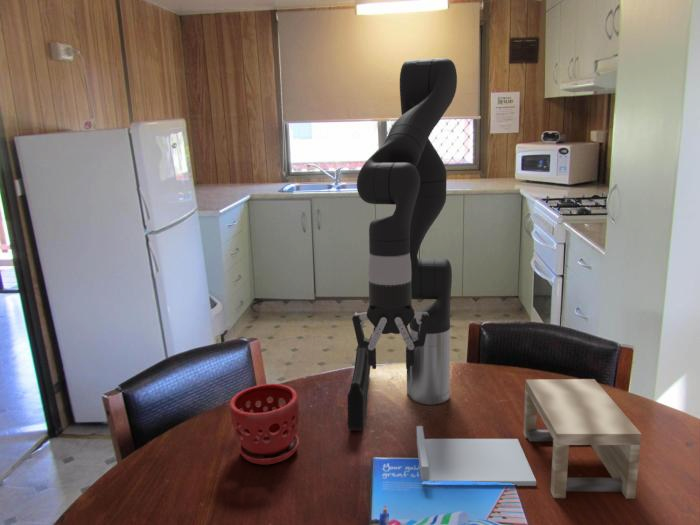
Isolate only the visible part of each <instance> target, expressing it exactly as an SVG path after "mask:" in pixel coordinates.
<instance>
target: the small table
mask: <svg viewBox="0 0 700 525" xmlns="http://www.w3.org/2000/svg"><path fill="white" fill-rule="evenodd" d="M523 411H524V413H523V432H522V433H523V436H524V438H525V439H528V441H529V442H552V459H551V476H550V479H551V480H550V493H551V495H552V498H553V499H566V498H567V492H615V493H616V492H621V493H622V495H623V496H624V497H625V499H628V500H629V499H633V500H634V499H636V496H637V485H638V474H639V466H640V453H641V445H642V444H641V443H642V433H641V432H640V430H639V429H638V428H637V427H636V426H635V425H634V424H633V422H632V421H631V420H630V419H629V417H628V416H627V415H626V414H625V413H624V412H623V411H622V410H621V408H620V407H619V405H617V403H616V402H615V401H614V400H613V399H612V398H611V396H609V394H608V393H607V392H606V390H604V388H603V387H602V386H601V385H600V383H598V382H597V380H596V379H595V378H581V379H580V378H579V379H578V378H571V379H569V378H567V379H561V378H559V379H557V378H556V379H555V378H554V379H549V378H548V379H547V378H546V379H541V378H540V379H539V378H538V379H525V386H524V408H523ZM537 413H538V414H539V416H540V418H541V419H542V421H543V423H544V425H545V427H546V429H537ZM570 446H590V447H591V448H592V449H593V451H594V453H595V454H596V455H597V457H598V458H599V459H600V460H599V461H601V463H602V464H603V466H604V467H605V469H606V471H607V472H608V474H609V476H611V477H568V467H569V466H568V465H569V464H568V463H569V452H570Z"/></svg>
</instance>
